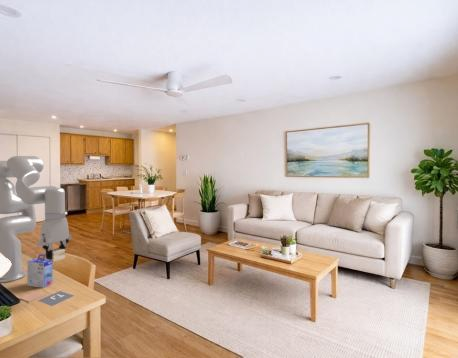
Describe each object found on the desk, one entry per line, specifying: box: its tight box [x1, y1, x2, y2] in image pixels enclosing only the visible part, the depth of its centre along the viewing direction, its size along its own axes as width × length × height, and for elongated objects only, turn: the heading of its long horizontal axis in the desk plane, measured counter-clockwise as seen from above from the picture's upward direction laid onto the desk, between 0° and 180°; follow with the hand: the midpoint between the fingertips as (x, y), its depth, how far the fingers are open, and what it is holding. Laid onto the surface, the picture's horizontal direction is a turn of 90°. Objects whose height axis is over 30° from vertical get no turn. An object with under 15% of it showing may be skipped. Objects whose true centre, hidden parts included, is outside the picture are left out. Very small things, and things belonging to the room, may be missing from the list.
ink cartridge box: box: [26, 253, 54, 289], centre depth 133 cm, size 10×6×14 cm, turn 78°
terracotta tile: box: [19, 290, 47, 303], centre depth 121 cm, size 7×7×1 cm
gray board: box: [37, 290, 75, 307], centre depth 121 cm, size 10×10×1 cm
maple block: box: [46, 247, 66, 262], centre depth 121 cm, size 5×5×4 cm
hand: (55, 256), depth 121 cm, fingers closed on maple block, 5 cm apart
